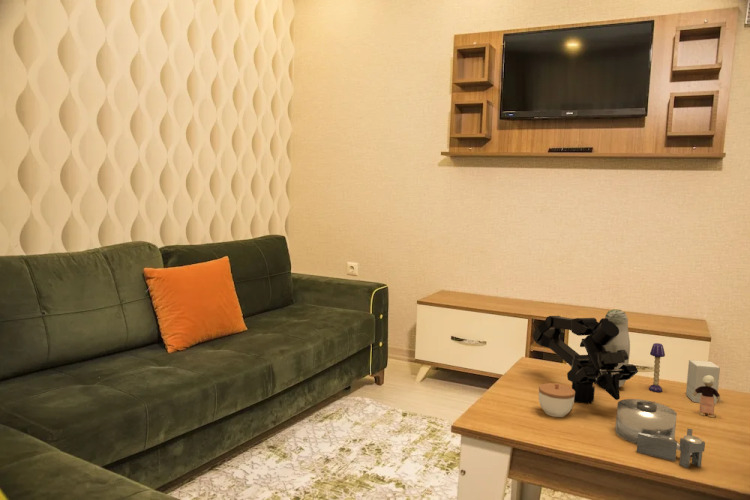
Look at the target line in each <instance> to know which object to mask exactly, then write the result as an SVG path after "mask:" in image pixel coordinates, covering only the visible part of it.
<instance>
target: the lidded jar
mask: <svg viewBox="0 0 750 500" xmlns="http://www.w3.org/2000/svg"><path fill="white" fill-rule="evenodd" d="M574 398H575V390H574V389H572V387H570V386H568V385H565V384H560V383H557V382H555V383H550V382H548V383H547V382H546V383H541V384H540V385H538V402H539V405H540V407H541V409H542V410H543V411H544V413H545V414H546V415H547V416H550V417H553V418H564V417H565V416H566V415H567V414H569V413H570V412H571V411H572V409H573V406H574V403H575V401H574Z"/></svg>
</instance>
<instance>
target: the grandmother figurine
mask: <svg viewBox="0 0 750 500" xmlns="http://www.w3.org/2000/svg"><path fill="white" fill-rule="evenodd" d="M702 382H703V383H704V384H705V386H701V387H698V388H697V389H695V391H694V393H693V396H696V395H697V394H698V393H702V395H701V399H700V403H699V412H698V415H700V416H704V417H706V416H707V417H709V418H715V417H716V416H717V415H716V414H715V404H714V397H713V394H714V395H715V396H716V397H717V402H718V403H721V402H722V401H723V400H722V399H721V398H722V397H721V394H720V393H719V391H718V392H717V390H716V389H714V388H712V387H711V386H713V384H714V377H713V376H710V375H707V376H705V377H704V378H703V379H702Z"/></svg>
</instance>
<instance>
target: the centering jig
mask: <svg viewBox="0 0 750 500" xmlns="http://www.w3.org/2000/svg"><path fill="white" fill-rule="evenodd" d="M679 440H680V441H679V444H680V448H681V451H680V457H679V466H681V467H683V468H685V469H690V465H691V464H692V465H693V466H695V467H696V468H700V467H702V461H703V460H702V459H703V452H705V445H706V442H705V441H703V440H702V439H701V438H699V437H698V436H694V435H693V429H692V428H687V430H686V435H683V437H682V438H680V439H679ZM677 443H678V440H676V441H674V440H670V439H666V438H661V437H657V436H652V435H648V434H644V433H638V441H637V444H636V453H639V454H641V455H646V456H650V457H655V458H657V459H658V458H660V459H663V460H667V461H672V462H676V457H677ZM690 453H694V455H693V457H690ZM690 463H691V464H690Z"/></svg>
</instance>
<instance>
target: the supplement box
mask: <svg viewBox="0 0 750 500" xmlns="http://www.w3.org/2000/svg"><path fill="white" fill-rule="evenodd" d="M687 365H688V369H687V378H686V389H685V396H687V397H688V398H689V399H690V400H691V401H692V402H693V403H697V404H698V403H699V404H700V399H701V395H702V393H698V394H697V395H696V396H693V393H694V391H695V389H697V388H698V387H701V386H705V384H704V383H703V382H702V379H703V378H704V377H705V376H707V375H710V376H713V377H714V384H713V386H711V387H712V388H714V389H716V390H717V392H718V393H719V391H718V390H719V380H720V373H721V372H720V371H721V367H720V366H718V365H717V364H715V363H714V362H713V361H708V360H707V361H706V360H694V359H693V360H692V359H690V360H688V364H687ZM713 397H714V405H717V402H718V399H717V397H716V396H715V395H714V394H713Z"/></svg>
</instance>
